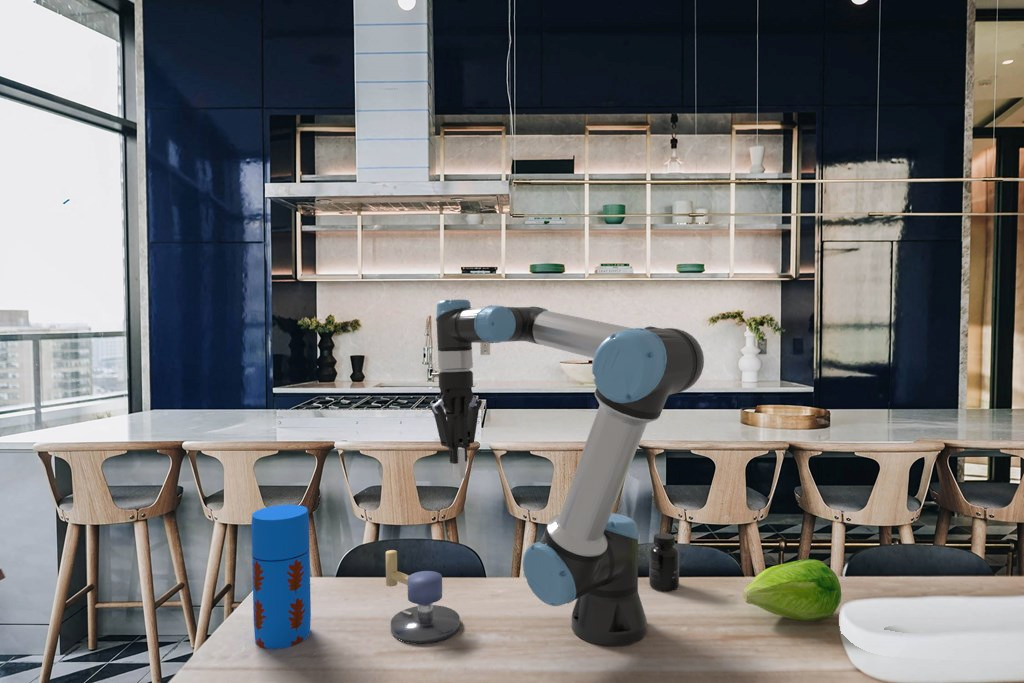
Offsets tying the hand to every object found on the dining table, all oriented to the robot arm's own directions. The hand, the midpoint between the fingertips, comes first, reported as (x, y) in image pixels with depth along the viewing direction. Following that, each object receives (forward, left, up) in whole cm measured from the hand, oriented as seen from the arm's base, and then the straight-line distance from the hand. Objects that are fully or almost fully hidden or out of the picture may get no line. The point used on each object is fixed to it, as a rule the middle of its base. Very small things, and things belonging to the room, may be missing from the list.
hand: (459, 477), depth 144 cm
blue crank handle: (+3, +12, -22) cm, 25 cm away
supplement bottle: (-33, -35, -29) cm, 56 cm away
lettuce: (-61, -34, -29) cm, 75 cm away
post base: (-1, +12, -28) cm, 31 cm away
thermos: (+20, +31, -29) cm, 47 cm away
